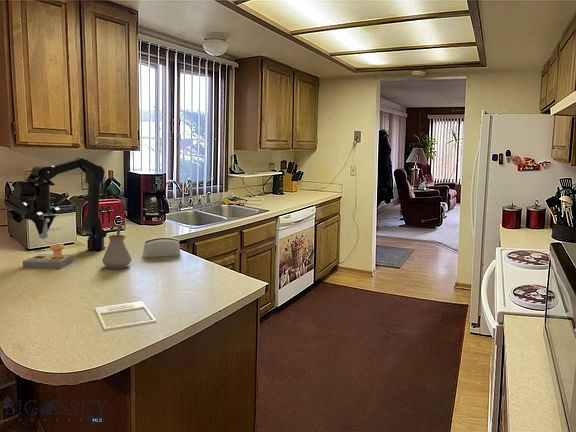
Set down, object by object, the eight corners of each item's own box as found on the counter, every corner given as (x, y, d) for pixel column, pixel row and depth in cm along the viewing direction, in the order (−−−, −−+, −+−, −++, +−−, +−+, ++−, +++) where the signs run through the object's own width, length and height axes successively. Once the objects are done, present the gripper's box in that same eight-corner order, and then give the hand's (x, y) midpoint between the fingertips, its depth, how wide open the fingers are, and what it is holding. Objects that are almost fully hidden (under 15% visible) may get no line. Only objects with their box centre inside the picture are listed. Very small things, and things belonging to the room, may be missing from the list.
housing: (73, 260, 201) (73, 254, 200) (60, 268, 189) (59, 261, 188) (38, 259, 200) (38, 253, 200) (22, 267, 189) (22, 260, 188)
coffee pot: (130, 269, 191) (130, 234, 189) (100, 270, 188) (99, 234, 186) (133, 256, 211) (133, 224, 209) (106, 257, 209) (106, 224, 206)
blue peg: (52, 236, 201) (52, 218, 200) (46, 239, 196) (45, 220, 195) (40, 236, 201) (39, 217, 200) (33, 238, 196) (33, 219, 195)
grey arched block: (178, 252, 222) (180, 234, 218) (180, 257, 219) (181, 239, 214) (142, 254, 216) (142, 235, 211) (143, 260, 212) (143, 241, 208)
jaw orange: (67, 262, 197) (66, 244, 196) (61, 266, 192) (60, 247, 191) (54, 262, 197) (53, 244, 196) (48, 265, 192) (47, 246, 191)
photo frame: (142, 300, 155) (156, 319, 140) (142, 303, 155) (156, 323, 140) (94, 307, 148) (104, 327, 132) (94, 310, 148) (104, 331, 133)
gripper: (35, 193, 205) (36, 228, 207) (9, 197, 187) (11, 236, 189) (60, 194, 205) (61, 229, 207) (37, 199, 186) (38, 237, 189)
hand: (43, 233), depth 198 cm, fingers closed on blue peg, 4 cm apart
